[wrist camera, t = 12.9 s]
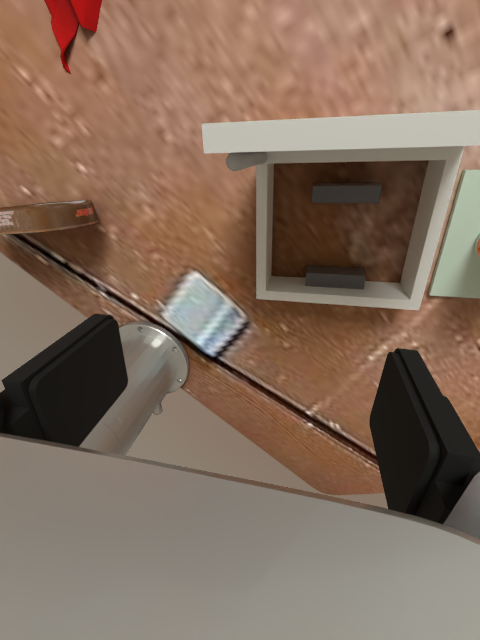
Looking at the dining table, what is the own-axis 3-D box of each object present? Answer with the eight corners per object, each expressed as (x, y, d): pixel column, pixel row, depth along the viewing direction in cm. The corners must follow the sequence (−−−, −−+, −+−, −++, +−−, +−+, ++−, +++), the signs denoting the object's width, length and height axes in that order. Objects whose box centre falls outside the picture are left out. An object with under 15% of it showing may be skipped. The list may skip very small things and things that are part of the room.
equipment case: (408, 292, 34) (483, 416, 18) (262, 283, 37) (220, 382, 22) (448, 129, 27) (631, 102, 11) (264, 136, 30) (201, 123, 14)
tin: (15, 226, 42) (-49, 243, 34) (4, 201, 40) (-65, 213, 33) (114, 220, 38) (65, 237, 31) (106, 192, 37) (53, 203, 29)
